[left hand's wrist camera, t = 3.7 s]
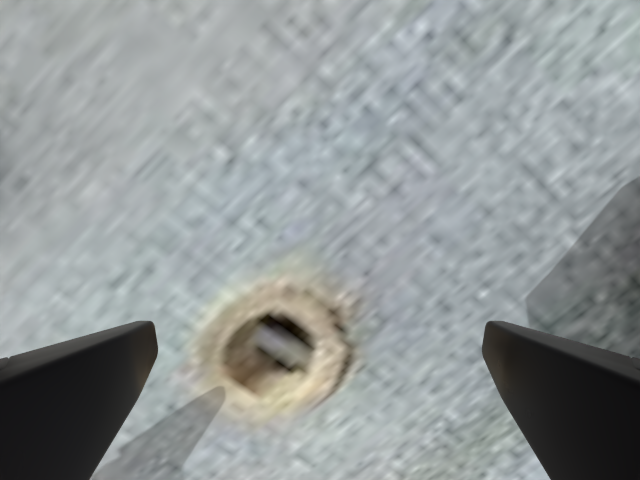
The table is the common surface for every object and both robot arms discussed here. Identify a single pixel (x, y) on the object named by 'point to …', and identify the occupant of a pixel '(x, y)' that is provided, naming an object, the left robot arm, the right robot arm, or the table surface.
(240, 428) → the table surface
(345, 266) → the table surface
